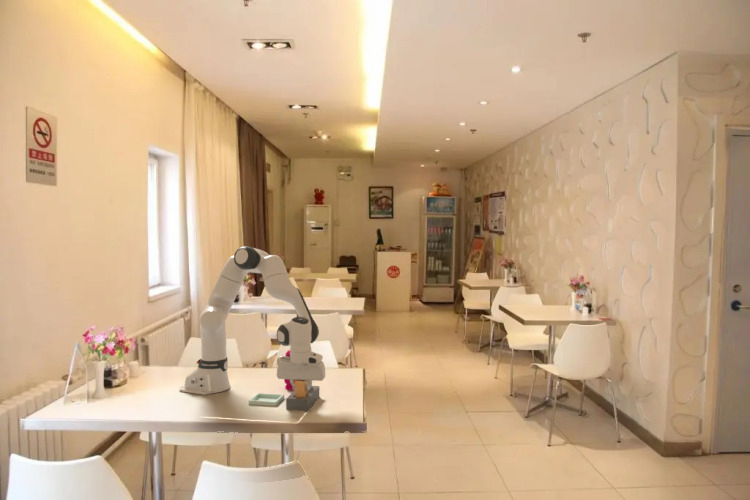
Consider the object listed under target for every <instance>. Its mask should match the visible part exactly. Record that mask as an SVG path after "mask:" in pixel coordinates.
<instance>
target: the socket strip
mask: <svg viewBox="0 0 750 500" xmlns="http://www.w3.org/2000/svg"><path fill="white" fill-rule="evenodd" d="M319 399H320V386H319V385H312V390H311V391H307V396H306V397H305V398H300V397H295V390H292V392H291V393H290V394H289V395H288V396H287V397H286V398H285V402H286V403H285V410H288V411H289V410H290V411H304V412H305V413H308V412H309V411H310V410H311V409H312V407H313V406H314V405H315V404H316V402H317V401H318V400H319Z"/></svg>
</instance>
